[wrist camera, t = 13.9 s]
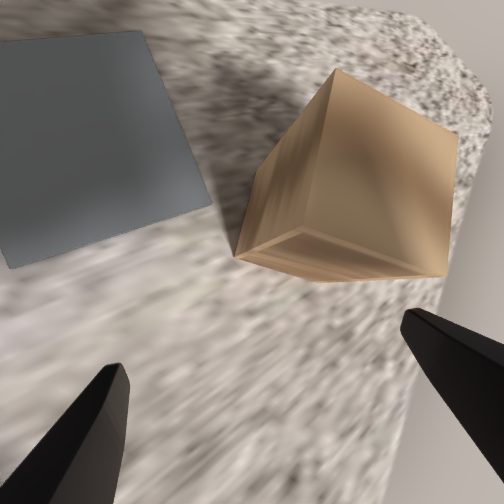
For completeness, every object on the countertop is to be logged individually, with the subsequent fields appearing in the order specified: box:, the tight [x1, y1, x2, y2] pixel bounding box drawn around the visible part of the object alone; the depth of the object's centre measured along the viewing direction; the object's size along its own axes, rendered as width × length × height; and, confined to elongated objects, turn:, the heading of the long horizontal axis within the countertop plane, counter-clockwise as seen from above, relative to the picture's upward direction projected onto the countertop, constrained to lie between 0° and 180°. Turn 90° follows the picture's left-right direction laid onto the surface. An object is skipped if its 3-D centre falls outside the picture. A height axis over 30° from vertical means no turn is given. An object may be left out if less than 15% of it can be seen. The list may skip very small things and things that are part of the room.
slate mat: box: [0, 31, 212, 269], centre depth 17 cm, size 13×12×1 cm
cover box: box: [234, 68, 458, 283], centre depth 16 cm, size 7×7×10 cm
